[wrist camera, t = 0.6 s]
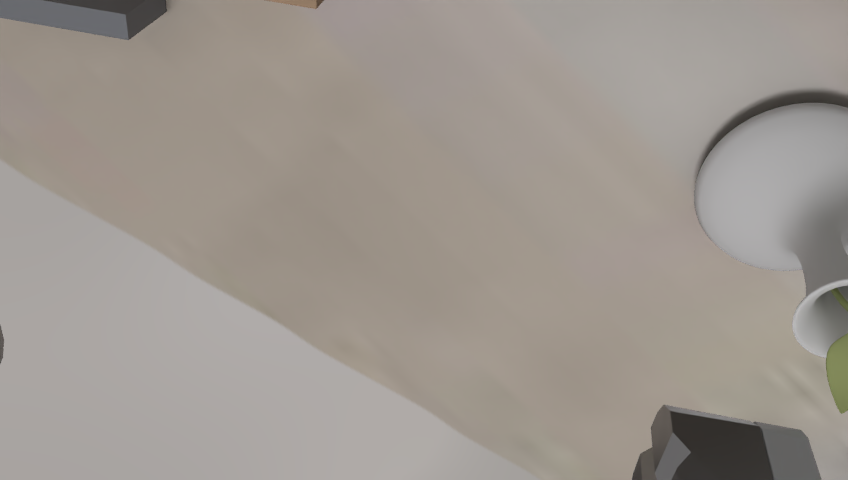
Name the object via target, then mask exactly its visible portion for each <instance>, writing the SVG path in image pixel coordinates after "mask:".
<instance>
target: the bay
mask: <svg viewBox="0 0 848 480" xmlns="http://www.w3.org/2000/svg"><path fill="white" fill-rule="evenodd" d="M165 12H166V1H165V0H0V18H5V19H11V20H17V21H22V22H28V23H34V24H39V25H45V26H51V27H57V28H62V29H68V30H74V31H80V32H85V33H91V34H97V35H103V36H108V37H114V38H120V39H126V40H129V39H131V38H132V37H133V36H135V35H136V34H137V33H139V32H140V31H141V30H143V29H144V28H145V27H147V26H148V25H149V24H151V23H152V22H153V21H155V20H156V19H157V18H159V17H160V16H161V15H163V14H164V13H165Z"/></svg>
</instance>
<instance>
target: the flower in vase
mask: <svg viewBox="0 0 848 480" xmlns="http://www.w3.org/2000/svg"><path fill="white" fill-rule="evenodd" d="M694 205H695V211H696V215H697V218H698V220H699V223H700V225H701V227H702V228H703V230H704V232H705V233H706V234H707V236H708V237H709V238H710V240H711V241H712V242H714V243H715V244H716V245H717V246H718V247H719V248H720V249H721V250H723V251H724V252H725V253H727V254H728V255H730V256H731V257H733V258H735V259H736V260H738V261H740V262H743V263H745V264H748V265H750V266H754V267H758V268H761V269H768V270H778V271H792V270H803V273H804V277H805V283H806V297H805V298H804V299H803V300H802V301H801V302H800V304H799V305H798V307H797V308H796V311H795V313H794V317H793V321H792V328H793V333H794V336H795V338H796V340H797V341H798V342H799V344H800V345H801V346H802V347H803V348H805V349H806V350H807V351H809V352H811V353H813V354H815V355H817V356H820V357H823V358H826V370H827V377H828V382H829V386H830V389H831V392H832V395H833V398H834V400H835V403H836V405H837V407H838V409H839V411H840V413H844V412H846V411H847V410H848V108H847V107H843V106H839V105H834V104H827V103H800V104H792V105H787V106H782V107H778V108H775V109H772V110H769V111H765V112H763V113H761V114H759V115H756V116H754V117H752V118H750V119H748V120H747V121H745V122H743V123H741V124H740V125H738V126H737V127H736V128H734V129H733V130H731V131H730V132H729V133H728V134H727V135H725V136H724V137H723V138H722V139H721V140H720V141H719V142H718V143H717V144H716V146H715V147H714V148H713V149H712V150H711V152H710V153H709V155H708V156H707V158H706V159H705V161H704V163H703V165H702V167H701V169H700V171H699V174H698V177H697V180H696V184H695V191H694Z"/></svg>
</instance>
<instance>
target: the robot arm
mask: <svg viewBox="0 0 848 480" xmlns="http://www.w3.org/2000/svg"><path fill="white" fill-rule="evenodd" d="M3 346H4V338H3V334H2V330H1V326H0V363H1V360H2V358H3ZM651 435H652V446H653V447H652V448H650V449H648V450H646V451H644V452H643V453H641V454H640V456H639V459H638V462H637V464H636V467H635V470H634V473H633V477H632V480H821V477H820V474H819V470H818V467H817V464H816V461H815V458H814V455H813V452H812V449H811V446H810V443H809V439H808V437H807V436H806V435H805V434H804V433H803V432H802V431H801V430H798V429H793V428H787V427H782V426H777V425H771V424H766V423H760V422H753V423H752V422H751V421H748V420H742V419H737V418H732V417H726V416H721V415H716V414H710V413H705V412H700V411H695V410H689V409H684V408H679V407H673V406H668V405H663V406H662V407H661V409H660V410H659V411H658V412H657V414H656V417H655V419H654V421H653V424H652V426H651Z"/></svg>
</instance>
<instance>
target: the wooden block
mask: <svg viewBox="0 0 848 480" xmlns="http://www.w3.org/2000/svg"><path fill="white" fill-rule="evenodd" d="M266 1H272V2H278V3H284V4H290V5H296V6H302V7H308V8H314V9H317V8H318V6H319V5H320V4H321V3H322V2H323V1H324V0H266Z"/></svg>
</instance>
